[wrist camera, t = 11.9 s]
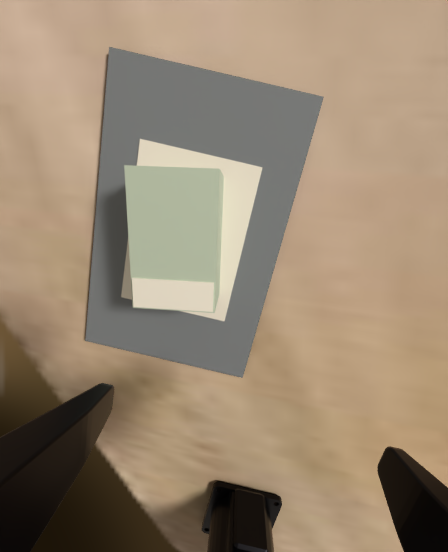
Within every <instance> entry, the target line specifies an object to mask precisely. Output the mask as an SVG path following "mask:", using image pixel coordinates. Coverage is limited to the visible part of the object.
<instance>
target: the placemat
mask: <svg viewBox="0 0 448 552" xmlns="http://www.w3.org/2000/svg"><path fill="white" fill-rule="evenodd" d="M322 101H323V97H322V96H318V95H314V94H309V93H305V92H301V91H296V90H292V89H288V88H284V87H279V86H275V85H271V84H266V83H262V82H258V81H253V80H249V79H245V78H241V77H236V76H232V75H228V74H223V73H219V72H215V71H211V70H206V69H202V68H198V67H193V66H189V65H185V64H180V63H176V62H172V61H168V60H163V59H159V58H155V57H150V56H146V55H142V54H138V53H133V52H129V51H125V50H120V49H116V48H112V47H109V57H108V69H107V81H106V94H105V106H104V118H103V130H102V143H101V155H100V167H99V180H98V192H97V204H96V216H95V229H94V241H93V253H92V265H91V278H90V290H89V302H88V314H87V327H86V339H85V341H89V342H93V343H97V344H101V345H106V346H110V347H114V348H118V349H123V350H127V351H131V352H135V353H140V354H144V355H148V356H152V357H157V358H161V359H165V360H169V361H173V362H178V363H182V364H186V365H190V366H195V367H199V368H203V369H207V370H212V371H216V372H220V373H224V374H229V375H233V376H237V377H241V378H243V374H244V371H245V367H246V364H247V360H248V357H249V353H250V350H251V347H252V343H253V340H254V336H255V333H256V329H257V326H258V322H259V319H260V315H261V312H262V309H263V305H264V302H265V298H266V295H267V291H268V288H269V284H270V281H271V277H272V274H273V270H274V267H275V264H276V260H277V257H278V253H279V250H280V246H281V243H282V239H283V236H284V232H285V229H286V225H287V222H288V219H289V215H290V212H291V208H292V205H293V201H294V198H295V194H296V191H297V187H298V184H299V180H300V177H301V174H302V170H303V167H304V163H305V160H306V156H307V153H308V149H309V146H310V142H311V139H312V135H313V132H314V129H315V125H316V122H317V118H318V115H319V111H320V108H321V104H322ZM124 165H132V166H160V167H188V168H216V169H220V170H221V172H222V174H223V176H224V189H223V215H222V241H221V266H220V292H219V298H218V302H217V306H216V310H215V313H206V312H191V311H175V310H160V309H144V308H133V306H132V289H131V272H130V255H129V238H128V221H127V204H126V187H125V170H124Z"/></svg>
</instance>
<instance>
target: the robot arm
mask: <svg viewBox="0 0 448 552" xmlns="http://www.w3.org/2000/svg"><path fill="white" fill-rule="evenodd" d="M113 395H114V387H113V386H112V385H109V384H104V383H101V384H98V385H97V386H95V387H93V388H91V389H89V390H87V391H85V392H83V393H82V394H80V395H78V396H76V397H74V398H72V399H70V400H69V401H67V402H65V403H63V404H61V405H59V406H58V407H56V408H54V409H52V410H50V411H48V412H46V413H44V414H43V415H41V416H39V417H37V418H35V419H33V420H32V421H29V422H28V423H26V424H24V425H22V426H20V427H18V428H16V429H15V430H13V431H11V432H9V433H7V434H5V435H3V436H1V437H0V552H30V551H31V549H32V548H33V546H34V545H35V543H36V541H37V540H38V538H39V537H40V535H41V534H42V532H43V530H44V529H45V527H46V526H47V524H48V522H49V521H50V519H51V517H52V516H53V514H54V512H55V511H56V509H57V508H58V506H59V504H60V503H61V501H62V500H63V498H64V497H65V495H66V493H67V491H68V490H69V489H70V487H71V485H72V484H73V482H74V480H75V479H76V477H77V476H78V474H79V472H80V470H81V469H82V467H83V466H84V464H85V462H86V460H87V458H88V456H89V454H90V452H91V450H92V448H93V446H94V444H95V442H96V440H97V438H98V436H99V435H100V433H101V431H102V429H103V427H104V425H105V423H106V421H107V419H108V417H109V415H110V412H111V409H112V404H113ZM378 475H379V478H380V481H381V485H382V488H383V491H384V494H385V497H386V500H387V504H388V507H389V510H390V513H391V516H392V520H393V523H394V526H395V529H396V532H397V535H398V537H399V540H400V543H401V545H402V548H403V550H404V552H448V488H447V487H446V486H445V485H444V484H443V483H441V482H440V481H439V480H438V479H437V478H436V477H434V476H433V475H432V474H431V473H430V472H428V471H427V470H426V469H425V468H424V467H422V466H421V465H420V464H419V463H418V462H417V461H415V460H414V459H413V458H412V457H411V456H409V455H408V454H407V453H406V452H405V451H403V450H402V449H399V448H395V447H387V448H386V449H385V451H384V453H383V455H382V457H381V459H380V462H379V464H378ZM281 506H282V501H281V497H280V496H277V495H273V494H269V493H265V492H260V491H256V490H252V489H248V488H244V487H239V486H235V485H231V484H227V483H222V482H216V483H215V484H214V486H213V490H212V493H211V496H210V500H209V503H208V507H207V510H206V514H205V517H204V520H203V524H202V531H203V532H204V533H207V534H209V540H208V550H207V552H274V547H273V537H272V528H273V526H274V523H275V521H276V518H277V516H278V513H279V511H280V508H281Z"/></svg>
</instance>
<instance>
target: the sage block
mask: <svg viewBox="0 0 448 552" xmlns="http://www.w3.org/2000/svg"><path fill="white" fill-rule="evenodd" d="M124 170H125V187H126V204H127V221H128V238H129V255H130V272H131V289H132V306H133V308H144V309H160V310H175V311H191V312H206V313H215V310H216V306H217V302H218V298H219V292H220V266H221V241H222V215H223V189H224V176H223V174H222V172H221V170H220V169H216V168H188V167H160V166H132V165H124Z"/></svg>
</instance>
